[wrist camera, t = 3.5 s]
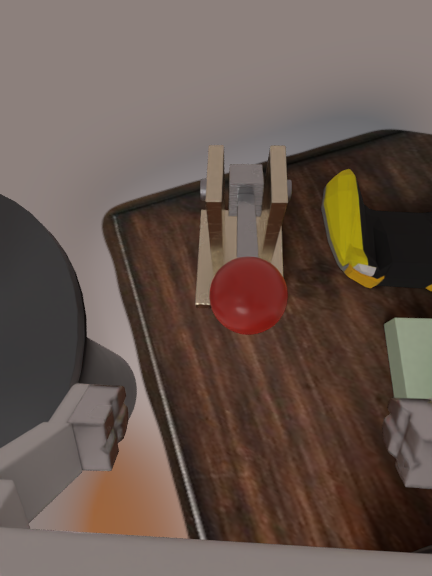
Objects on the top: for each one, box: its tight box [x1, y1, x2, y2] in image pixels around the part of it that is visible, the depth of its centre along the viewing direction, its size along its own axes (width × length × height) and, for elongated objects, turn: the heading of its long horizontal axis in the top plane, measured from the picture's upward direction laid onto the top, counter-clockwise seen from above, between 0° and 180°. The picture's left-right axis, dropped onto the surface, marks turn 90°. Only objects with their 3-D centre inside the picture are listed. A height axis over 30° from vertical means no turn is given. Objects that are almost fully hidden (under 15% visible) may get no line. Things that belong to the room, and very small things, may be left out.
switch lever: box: [209, 164, 288, 335], centre depth 19 cm, size 13×4×4 cm, turn 178°
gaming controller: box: [321, 169, 432, 292], centre depth 30 cm, size 15×6×10 cm
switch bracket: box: [195, 145, 292, 308], centre depth 27 cm, size 10×8×13 cm
